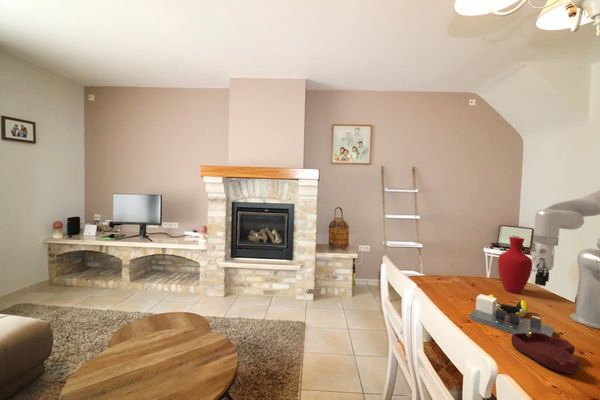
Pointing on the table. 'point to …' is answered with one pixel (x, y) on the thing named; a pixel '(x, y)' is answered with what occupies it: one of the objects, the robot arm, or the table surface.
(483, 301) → the chalk-white cube
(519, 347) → the ashtray
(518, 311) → the gaming controller
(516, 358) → the table surface
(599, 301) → the robot arm
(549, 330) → the panel
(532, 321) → the toggle
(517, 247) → the vase
